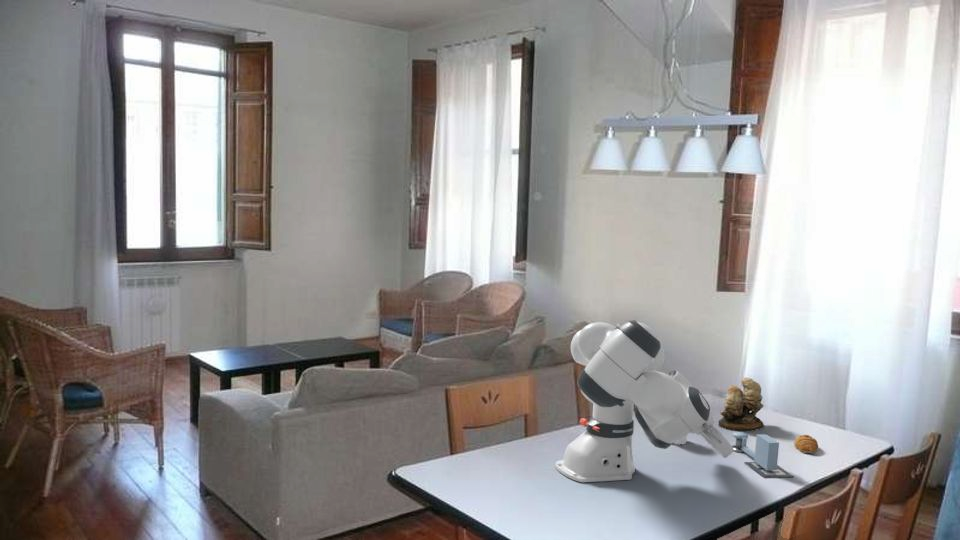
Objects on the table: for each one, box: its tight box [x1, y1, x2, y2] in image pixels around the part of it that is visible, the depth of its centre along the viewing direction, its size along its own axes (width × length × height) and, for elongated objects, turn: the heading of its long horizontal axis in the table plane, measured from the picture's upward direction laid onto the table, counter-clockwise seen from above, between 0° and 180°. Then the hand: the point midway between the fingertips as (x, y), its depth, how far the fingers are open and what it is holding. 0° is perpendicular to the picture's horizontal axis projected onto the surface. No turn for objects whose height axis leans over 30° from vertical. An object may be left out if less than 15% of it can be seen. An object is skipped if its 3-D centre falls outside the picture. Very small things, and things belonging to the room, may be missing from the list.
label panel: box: [743, 461, 794, 479], centre depth 211 cm, size 9×11×1 cm
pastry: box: [794, 434, 819, 455], centre depth 231 cm, size 9×7×4 cm
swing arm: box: [732, 431, 780, 470], centre depth 219 cm, size 21×4×8 cm, turn 8°
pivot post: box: [731, 438, 747, 454], centre depth 227 cm, size 5×5×4 cm
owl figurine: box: [718, 376, 764, 432], centre depth 252 cm, size 18×12×17 cm, turn 120°
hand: (725, 453), depth 211 cm, fingers closed
